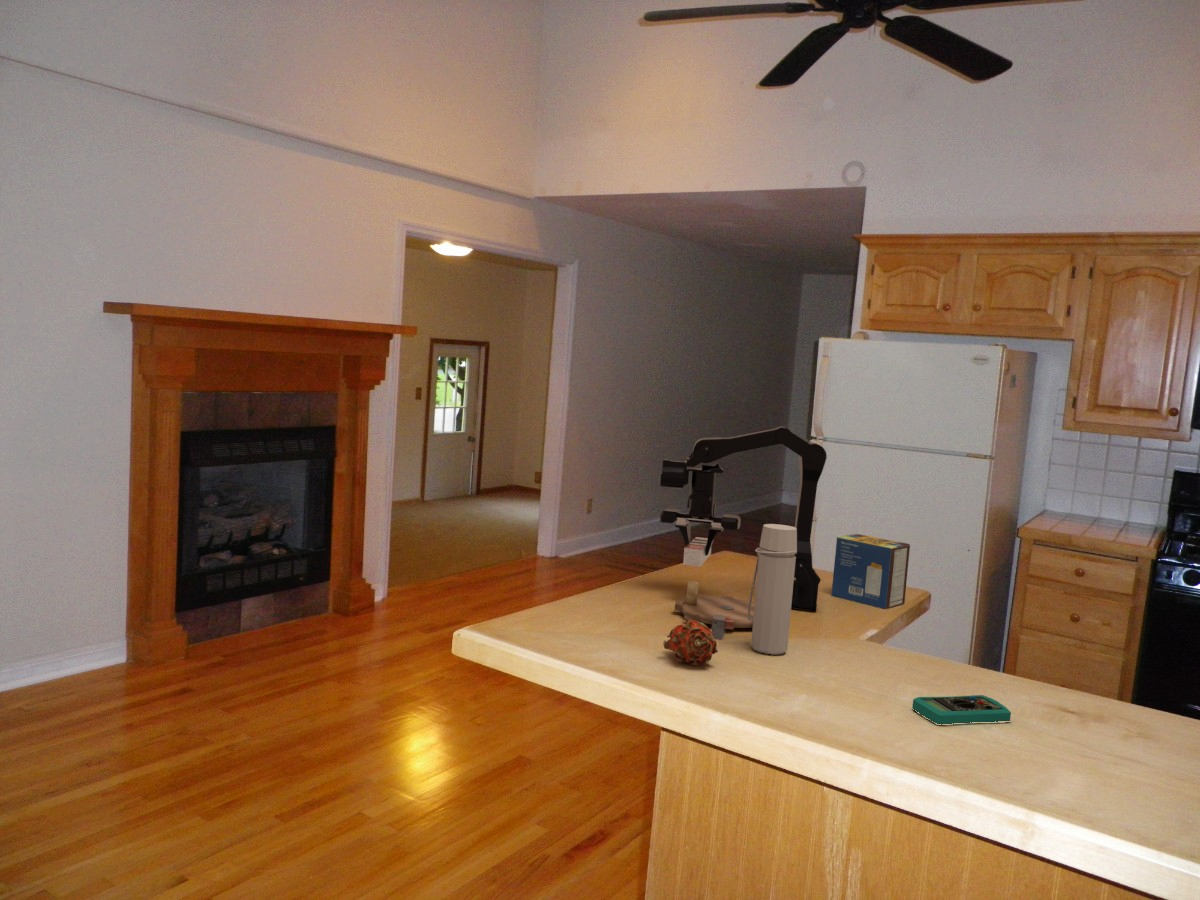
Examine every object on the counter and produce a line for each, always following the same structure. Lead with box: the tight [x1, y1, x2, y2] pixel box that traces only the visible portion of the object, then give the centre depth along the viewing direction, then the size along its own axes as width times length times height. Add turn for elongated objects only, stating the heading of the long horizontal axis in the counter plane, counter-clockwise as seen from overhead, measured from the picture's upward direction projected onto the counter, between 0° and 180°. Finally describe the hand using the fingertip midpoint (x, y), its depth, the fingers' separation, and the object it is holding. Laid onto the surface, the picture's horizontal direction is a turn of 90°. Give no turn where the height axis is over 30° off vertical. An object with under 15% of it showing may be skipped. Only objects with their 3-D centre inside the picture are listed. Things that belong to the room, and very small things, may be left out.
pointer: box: [711, 614, 726, 640], centre depth 187 cm, size 2×5×4 cm, turn 165°
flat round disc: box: [674, 580, 755, 630], centre depth 201 cm, size 23×23×6 cm
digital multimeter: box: [912, 694, 1012, 725], centre depth 151 cm, size 7×15×3 cm, turn 106°
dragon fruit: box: [663, 620, 719, 667], centre depth 169 cm, size 8×8×12 cm
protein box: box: [830, 533, 911, 610], centre depth 229 cm, size 10×15×16 cm
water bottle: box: [748, 523, 797, 656], centre depth 179 cm, size 9×8×25 cm
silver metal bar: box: [682, 536, 712, 568], centre depth 218 cm, size 4×16×4 cm, turn 164°
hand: (697, 554), depth 218 cm, fingers closed on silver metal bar, 4 cm apart
